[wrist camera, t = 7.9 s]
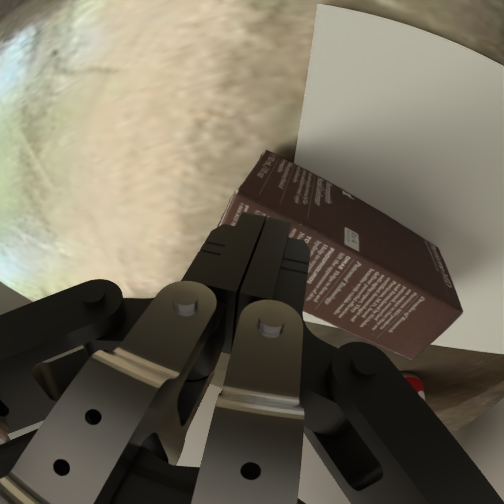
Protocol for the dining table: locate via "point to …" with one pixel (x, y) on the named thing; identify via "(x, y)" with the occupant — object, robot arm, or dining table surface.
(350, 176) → the mat
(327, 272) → the box
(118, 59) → the dining table surface
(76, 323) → the robot arm
